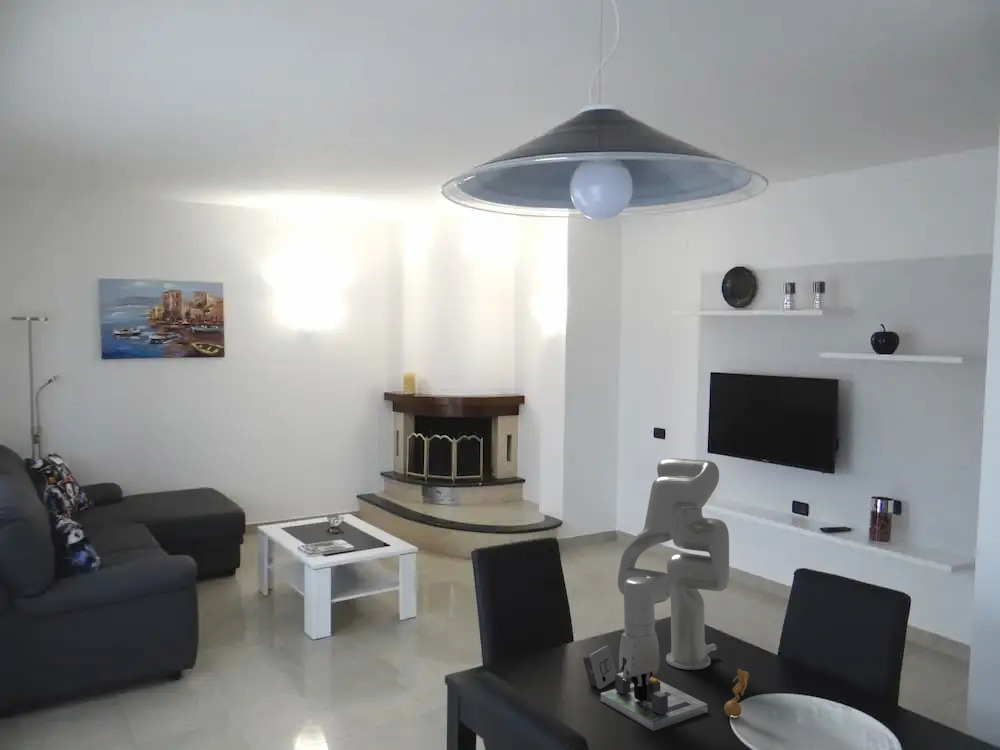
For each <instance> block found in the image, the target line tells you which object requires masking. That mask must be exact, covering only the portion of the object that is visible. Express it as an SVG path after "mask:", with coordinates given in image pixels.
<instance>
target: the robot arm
mask: <svg viewBox="0 0 1000 750" xmlns="http://www.w3.org/2000/svg"><path fill="white" fill-rule="evenodd" d="M656 472H657V476H658V477H657V478H655V480H654V481H653V482H652V484H651V489H650V495H649V500H648V506H647V511H646V514H645V515H646V517H645V522H644V526H643V529H642V531H640V532H639V533H638V534H637V535H636V536H635V537H634V538H633V539H632V540H631V541H630V542H629V544H628V545H627V546H626V548H625V549H624V551H623V553H622V555H621V559H620V564H619V568H618V576H617V588H618V590H619V592H620V594H622V595H623V607H624V608H623V611H624V612H623V615H624V618H623V619H624V622H623V623H624V632H622V633H621V636H620V637H621V638H620V642H619V654H618V668H619V669H618V670H619V671H620V673H621V672H623V677H622V679H623V680H625V681H630V683H631V684H632V683H633V684H634V697H635V699H637V700H639V701H641V702H644V701H647V685H648V684H649V682H650V678H651V677H653V675H655V674H657V673H658V672H659V668H660V662H661V661H660V646H659V639H658V635H657V631H656V629H655V626H656V625H657V624H658V621H657V620H656V619H655V605H656V604H660V603H663V602H666V601H667V600H669V598H670V634H671V636H670V637H671V639H670V641H671V642H670V643H671V651H670V652H669V653H667V654H666V656H665V661H666V662H667V664H668V665H670V666H671V667H674V668H675V669H676V668H677V669H682V670H687V671H690V670H691V671H697V670H703V669H706V668H709V666H710V665H711V663H712V662H711V657H710V656H709V655H708V654H709V653H710V652H713V651H716V650H717V645H716V644H715V643H711V644H708V645H707V643H706V641H705V640H706V638H705V637H706V636H705V634H706V633H705V625H706V623H705V601H704V598H703V596H702V594H701V592H700V591H699V590H703V591H711V592H723V591H725V590H726V589H727V587H728V585H729V582H730V581H729V580H730V534H729V528H728V527H727V524H726V523H725V522H724V521H723V520H721V519H718V518H712V517H711V518H710V517H704V516H703V507H704V506H705V505H706V503H707V502H708V500H709V499H710V497H711V496H712V494H713V493H714V491H715V490H716V488H717V487H718V484H719V481H720V470H719V468H718V465H717V464H716V463H715V462H713V461H711V460H702V459H690V458H689V459H688V458H664V459H661V460H659V462H658V464H657V467H656ZM671 540H672V542H673V544H674V546H676V547H677V548H679V549H683V550H687V551H689V550H690V551H698V552H706V553H708V554H709V555H702V554H695V553H688V552H685V553H684V552H680V553H679V552H678V553H674V554H672V555H671V556H669V558H668V560H667V562H666V572H667V573H666V572H663V571H657V570H650V569H645V568H637V567H636V563H637V561H638V559H639V557H640V556H641V555H642V554H643V553H644V552H645V551H646V550H649V549H650V548H652V547H655V546H658V545H661V544H663V543H666V542H669V541H671Z"/></svg>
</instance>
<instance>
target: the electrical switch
mask: <svg viewBox="0 0 1000 750" xmlns="http://www.w3.org/2000/svg"><path fill="white" fill-rule="evenodd" d="M582 659H583V663H584V668H585V673H586V676H587V679H588V683H589V687H596V688H597V689H598V690H601V689H604V688H605V687H606V686H608V685H610V684H611V683H613V682H615V675H616V674H618V673H617V670H616V666H615V663H614V658H613V655H612V650H611V647H610V646H609V645H604V646H603V647H601V648H599V649H595V650H594V651H591V652H590V653H588V654H587V655H585V656H583V658H582Z"/></svg>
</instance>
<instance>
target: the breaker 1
mask: <svg viewBox="0 0 1000 750" xmlns="http://www.w3.org/2000/svg"><path fill="white" fill-rule="evenodd" d="M622 677H623V672H621V671H620V672H619V673H617V674H616V675H615V680H614V682H615V683H614V684H615V685H614V686H615V688H614V689H615V690H616V691H618V692H620V693H622V694H625V693H629V692H630V684H631V681H625V680H623V679H622Z"/></svg>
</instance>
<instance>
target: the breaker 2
mask: <svg viewBox="0 0 1000 750" xmlns="http://www.w3.org/2000/svg"><path fill="white" fill-rule="evenodd" d="M652 711H654V712H656V713H658V714H660V715H661V714H664V713H667V712H668V696H667V695H666V694H664V693H662V692H660V691H658V692H655V693H652Z"/></svg>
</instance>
